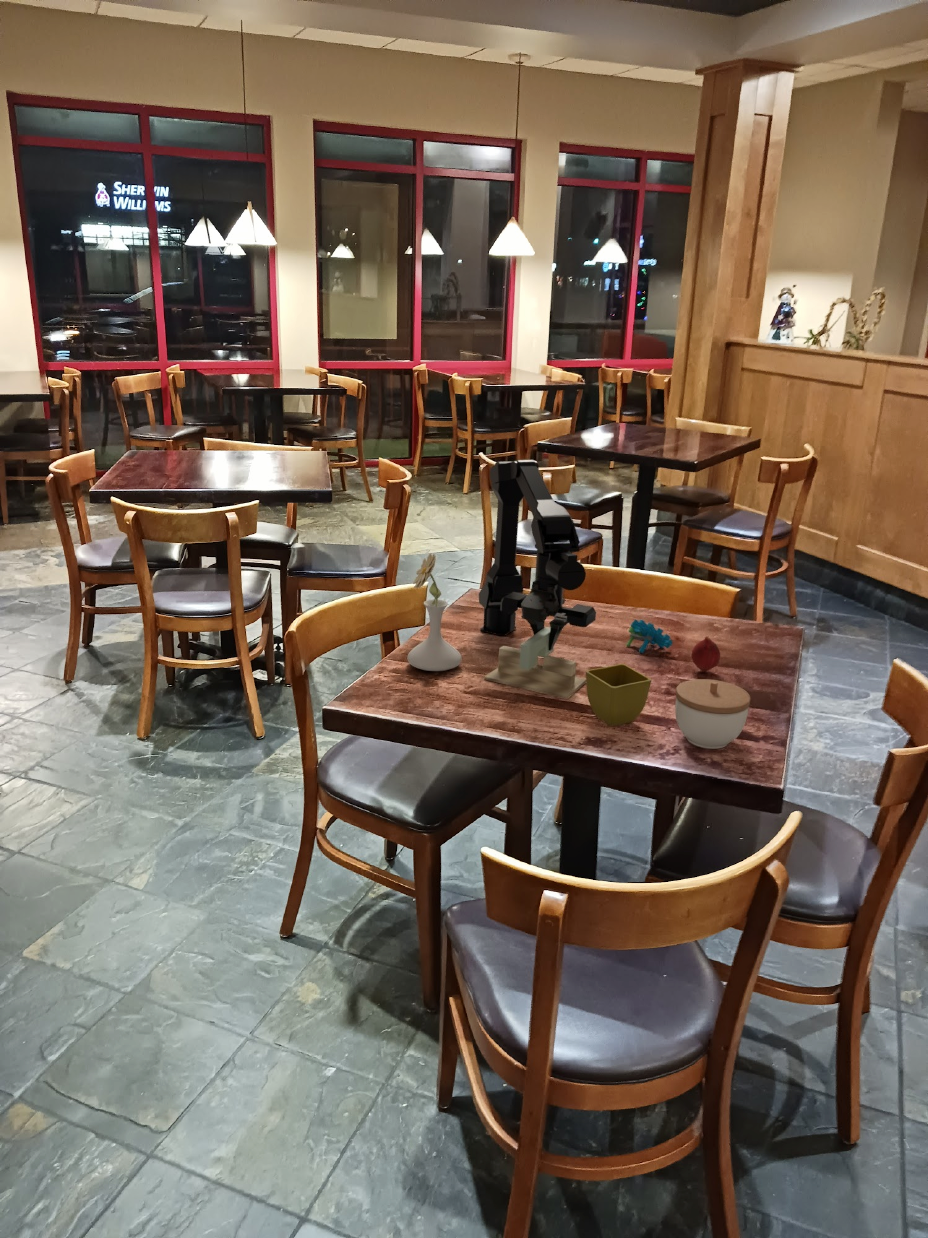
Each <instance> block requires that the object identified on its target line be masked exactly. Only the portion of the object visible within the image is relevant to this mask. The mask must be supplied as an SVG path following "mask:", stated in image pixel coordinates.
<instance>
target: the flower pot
mask: <svg viewBox="0 0 928 1238" xmlns="http://www.w3.org/2000/svg"><path fill="white" fill-rule="evenodd" d="M585 679H586V683H585V684H586V694H587V700H588V703H589V705H590V708H591V710H592V712H593V714H594V715H595V716H596V717H597V718H598V719H599V720H601V721H602V722H604V723H606V725H608V726H609V727H616V726H620V725H625V724H628V723H632V722H634V721H635V720H636V719H637V718H638V717H639V715H640V714H641V713H642V711H643V710H644V708H645V706H646V702H647V700H648V696H649V692H650V688H651V683H652V679H651V678H650V677H648V676H647V675H644V674H643V673H641V672H639V671H638V670H635V669H633V668H632V667H631V666H629V665H627V664H624V663H619V664H613V665H610V666H604V667H599V668H598V667H597V668H593V669H587V670H585Z"/></svg>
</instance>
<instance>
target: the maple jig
mask: <svg viewBox="0 0 928 1238" xmlns="http://www.w3.org/2000/svg"><path fill="white" fill-rule="evenodd" d="M542 658H543V659H542V665H541V664H536V665H535V666H534V667H533V668H531V669H530V670H525V669H520V668H519V667H520V648H515V647H511V646H506V645H502V646H500V647H499V648H498V665H497V668H495V669H493V670H492V671H491V672H489V673H487V674H486V675H485V676H484V680H486V681H490V682H493V683H497V684H498V683H499V684H502V685H507V686H511V687H515V688H520V689H523V690H528V691H533V692H536V693H539V694H545V695H548V696H554V697H557V698H562V699H566V700H568V699H569V698H570V697H571V696H573V694H575V693H576V692H577V691H578V690H579V689H581V687H582V686H583V685H585V684H586V678H581V677H577V676H576V669H577V661H575V660H571V659H566V658H562V657H557V656H553V655H550V654H549V655H547V656H546V657H542Z"/></svg>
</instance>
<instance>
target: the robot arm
mask: <svg viewBox="0 0 928 1238" xmlns="http://www.w3.org/2000/svg"><path fill="white" fill-rule="evenodd" d="M489 480H490V483H491V490H492V492H493V493H494V495H495V498H496V499H497V509H496V511H497V513H496V529H495V530H496V531H495V547H494V559H493V560H494V562H493V563H492V565H491V567H490V568H489V569H488V570H487V572H486V575H485V582H484V584H483V585H482V587H481V589H480V591H479V592H478V604H479V605H481V606H482V607H483V626H482V627H481V628H479V631H480V632H484V633H488V634H493V635H498V636H502V637H505V636H507V635H509V634H510V633H512V632H513V631H514V630H516V629H517V626H516V617H517V613H516V612H517V611H518V609H521V616H520V617H521V619H522V620H525V621H526V622H527V623H528V624H529V626H530V628H531V631H532V633H533V635H535V634H536V633H538V632H539V631H540V630H542V629H543V628H545V623H546V622H545V621H546V620H547V619H548V617H553V619H552V620H551V621H549V623H548V624H549V627H550V628H551V629H550V637H549V651H551V650H552V649H553V650H554V648H553V647H554V646H555V645H556V642H557V641H558V639H559V637H560V635H561V632H562V631H563V629H564V628H565V626H567V625H568V624H569V625H570V626H573V627H579V628H587V627H588V626H589V625H591V624H592V623H594V622H595V621H596V618H597V617H596V616H597V615H596V614H597V611H596V609H595V607H594V606H589V605H584V604H579V603H577V604H575V605H574V606H573V607H571V608H570V607H567V606H566V607H565V606H563V605H564V604H566V603H565V601H566V598H564V590H566V591H574V590H577V589H578V588H580V587H581V586H582V585H583V583H584V582H585V580H586V576H587V572H586V569H585V566H584V565H583V564H582V563H580V561H578V554H576V553H577V552H580V545H579V544H580V543H581V542H580V538H579V535H578V531H577V529H576V525H575V522H574V520H573V519H572V516H571V514H569V512H568V511H567V509H566V508H565V507H564V506H562V505H560V504H558V503H556V502H555V501H554V499H553V497H552V495H551V493H550V491H549V488H548V486H547V484H546V483H545V481H544V479H543V477H542V474H541V472H540V468H539V464H538V461H536V460H534V459H515V460H513V461H496V462H495V463H494V465H492V466H491V467H490V470H489ZM523 499H525V501H526V503H527V506H528V508H529V509H530V512H531V514H532V521H531V524H530V528H531V534H532V537H533V539H534V542H535V544H534V548H535V549H536V560H535V561H536V562H535V575H534V576H535V579H534V580H533V581H532V584H531V589H530V592H529V593H528V594H526V593H524V585H523V579H524V578H523V576H522V575H521V574H520V573H519V571H518V569H517V567H516V562H517V561H516V559H517V545H518V530H519V529H518V528H519V517H520V515H519V514H520V505H521V504H520V503H521V502H522V500H523ZM575 552H576V553H575Z"/></svg>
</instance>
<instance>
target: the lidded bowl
mask: <svg viewBox="0 0 928 1238" xmlns="http://www.w3.org/2000/svg"><path fill="white" fill-rule="evenodd" d="M751 700H752V699H751V695H750V694H749V693H748V691H746V690H745V689H743V687H740V686H739V685H738V686H737V685H736V684H733V683H730V682H727V681H724V680H723V681H722V680H716V679H708V678H707V679H706V678H701V679H700V678H699V679H698V678H697V679H689V680H685V681H683V682H680V683H679V684H678V685H677V686H676V688H675V704H674V706H675V708H674V710H675V719H676V724H677V725H678V728H679V730H680V731H681V733H682V734H683V735H684V737H686V740H687V742H689V743H690V744H692V745H693V746H696V747H698V748H703V749H708V750H719V749H723V748H726V747H727V746H728V745H729V744H730V743H731V742H733V741H734V740H735V739H737V738H738V737H739V736H740V734H741V732H742V731H743V729H744V727H745V724H746V721H747V718H748V713H749V707H750V704H751Z"/></svg>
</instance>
